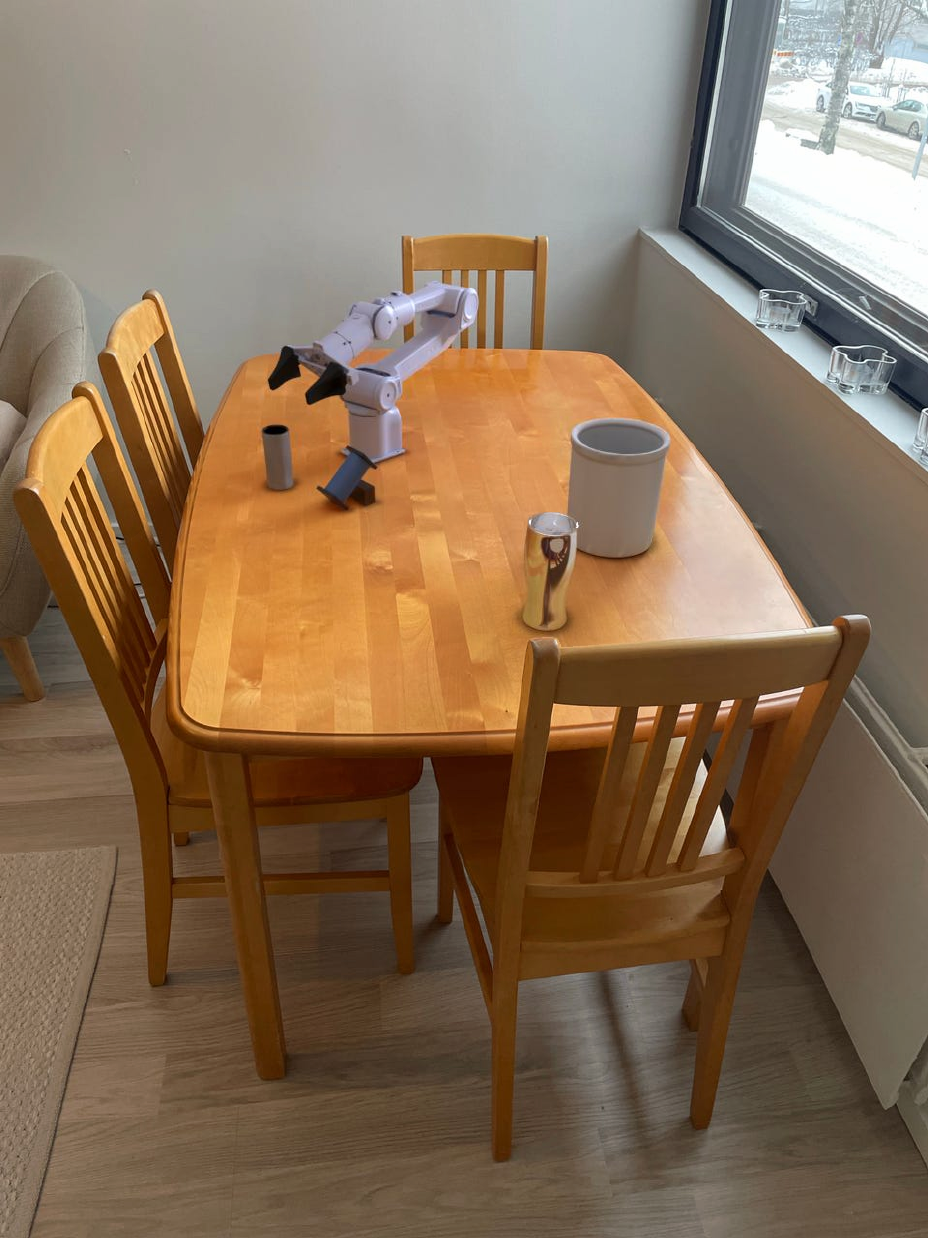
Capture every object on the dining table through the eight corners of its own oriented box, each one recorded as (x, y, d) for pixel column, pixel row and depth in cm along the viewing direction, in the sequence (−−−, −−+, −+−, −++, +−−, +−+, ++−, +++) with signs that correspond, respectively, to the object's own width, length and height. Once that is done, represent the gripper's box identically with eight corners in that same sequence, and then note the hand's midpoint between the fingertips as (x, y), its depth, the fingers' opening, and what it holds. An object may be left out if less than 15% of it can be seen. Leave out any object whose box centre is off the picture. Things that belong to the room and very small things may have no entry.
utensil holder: (545, 524, 150) (553, 423, 140) (623, 509, 155) (636, 410, 145) (590, 567, 139) (603, 461, 129) (672, 550, 144) (690, 446, 134)
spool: (362, 489, 159) (360, 440, 154) (378, 498, 156) (377, 448, 151) (317, 506, 153) (313, 456, 148) (333, 515, 151) (329, 464, 146)
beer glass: (516, 605, 130) (522, 511, 121) (564, 604, 130) (574, 510, 122) (523, 633, 124) (530, 537, 116) (573, 632, 125) (584, 535, 116)
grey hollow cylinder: (288, 491, 158) (283, 435, 152) (263, 489, 158) (257, 433, 152) (297, 480, 161) (292, 425, 155) (273, 477, 162) (267, 422, 156)
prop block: (353, 490, 159) (353, 474, 157) (375, 502, 155) (374, 486, 153) (343, 494, 157) (342, 478, 156) (365, 506, 154) (364, 490, 152)
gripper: (301, 315, 153) (248, 357, 146) (371, 340, 148) (320, 385, 141) (308, 350, 159) (258, 393, 152) (376, 376, 154) (327, 421, 147)
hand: (288, 392), depth 147 cm, fingers open, 7 cm apart
